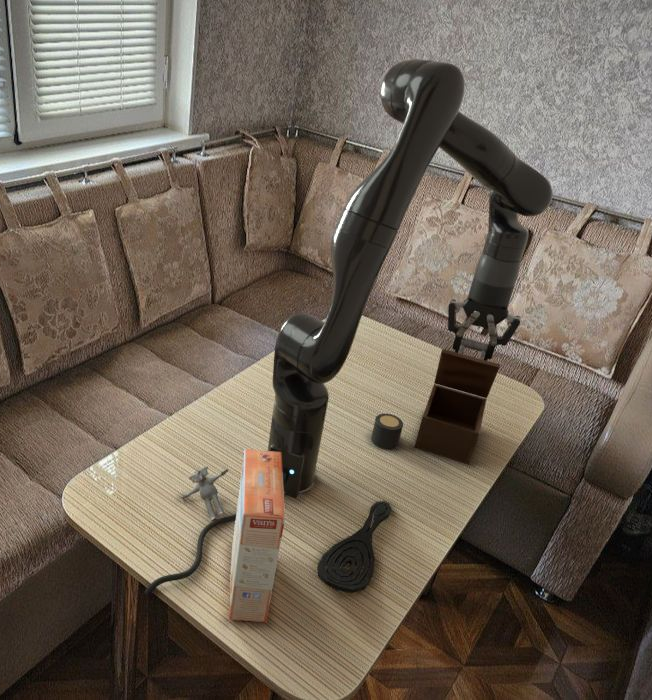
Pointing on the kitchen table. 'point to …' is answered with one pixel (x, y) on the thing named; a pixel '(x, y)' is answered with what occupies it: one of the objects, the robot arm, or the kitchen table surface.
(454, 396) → the box
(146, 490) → the kitchen table surface
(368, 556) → the hairbrush
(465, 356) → the lid
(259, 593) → the cracker box
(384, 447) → the dark grey short cylinder
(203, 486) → the elephant figurine
